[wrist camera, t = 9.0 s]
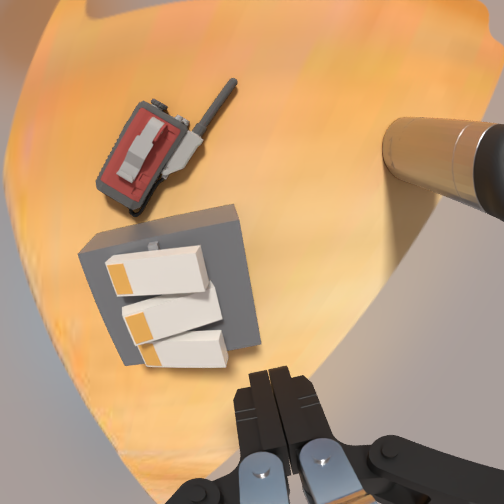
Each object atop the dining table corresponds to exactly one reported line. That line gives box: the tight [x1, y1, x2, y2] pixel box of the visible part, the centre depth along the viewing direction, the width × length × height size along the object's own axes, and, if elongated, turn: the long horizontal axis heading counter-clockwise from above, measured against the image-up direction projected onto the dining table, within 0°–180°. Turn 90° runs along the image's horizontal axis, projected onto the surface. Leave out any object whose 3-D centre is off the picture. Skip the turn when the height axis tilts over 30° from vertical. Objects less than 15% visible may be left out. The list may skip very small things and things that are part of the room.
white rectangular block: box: [105, 245, 209, 297], centre depth 30 cm, size 10×4×2 cm, turn 99°
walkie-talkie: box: [96, 78, 237, 217], centre depth 32 cm, size 9×4×20 cm
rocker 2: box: [137, 330, 228, 368], centre depth 34 cm, size 10×4×2 cm, turn 99°
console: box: [78, 204, 261, 366], centre depth 37 cm, size 18×16×8 cm
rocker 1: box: [122, 280, 222, 346], centre depth 32 cm, size 10×4×2 cm, turn 99°
